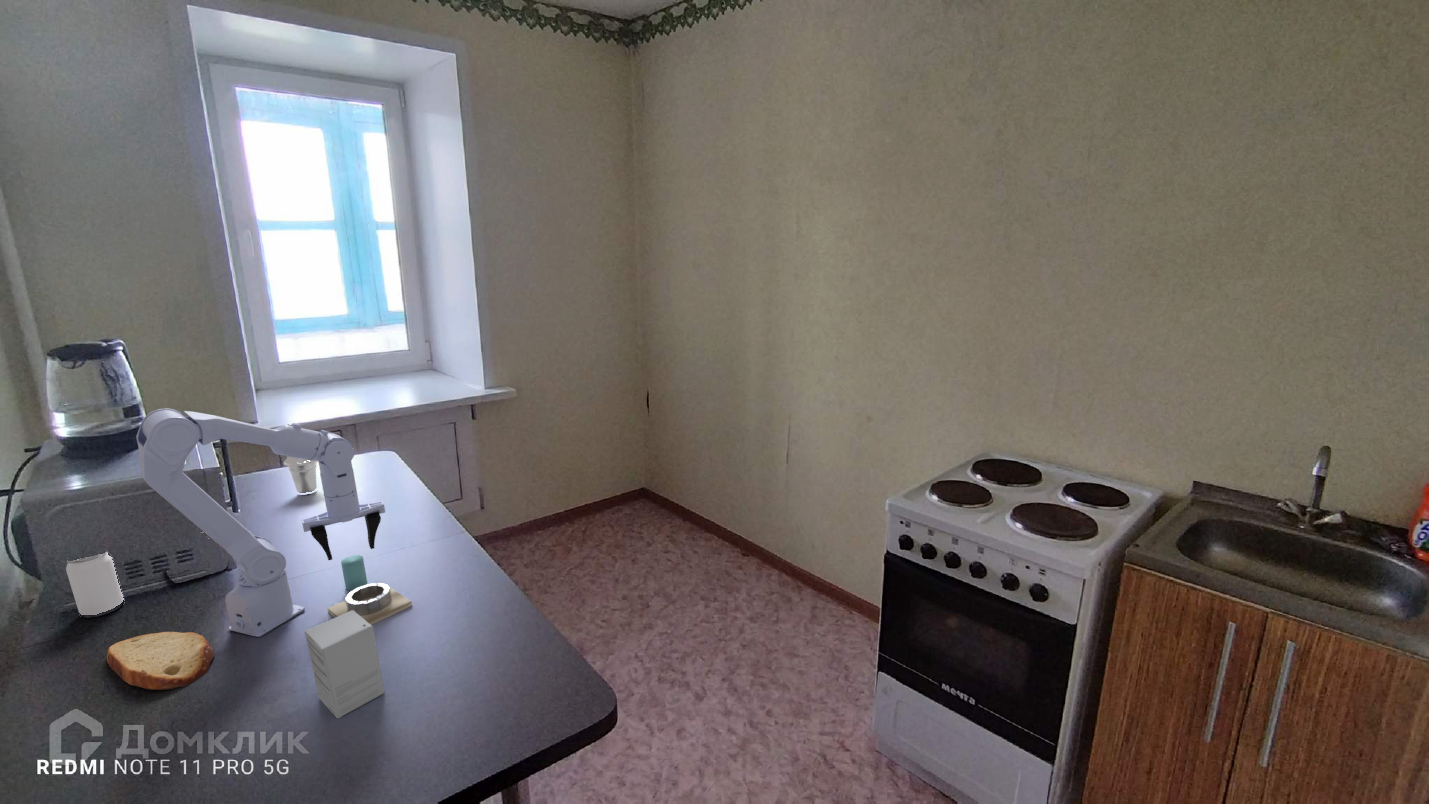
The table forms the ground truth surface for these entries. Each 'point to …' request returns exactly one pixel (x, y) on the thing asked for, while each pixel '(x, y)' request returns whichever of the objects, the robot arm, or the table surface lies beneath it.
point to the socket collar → (365, 592)
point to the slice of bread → (161, 659)
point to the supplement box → (345, 662)
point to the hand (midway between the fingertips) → (351, 552)
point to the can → (94, 584)
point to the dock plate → (395, 606)
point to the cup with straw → (302, 473)
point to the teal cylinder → (354, 572)
